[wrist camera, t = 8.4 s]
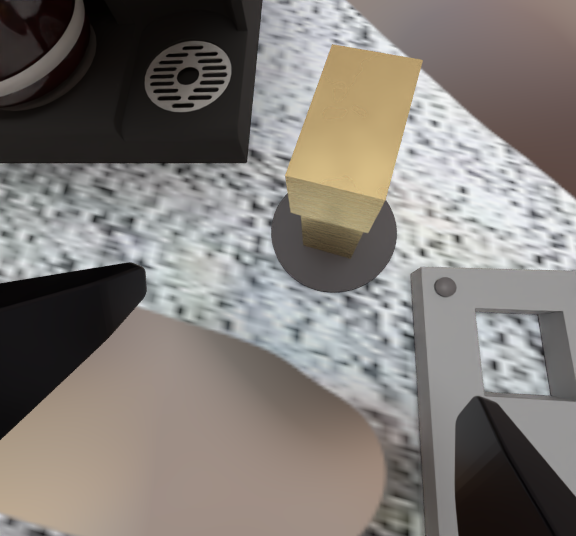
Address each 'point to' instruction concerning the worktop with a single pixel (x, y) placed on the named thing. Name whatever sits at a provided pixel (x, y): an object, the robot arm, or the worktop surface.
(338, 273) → the rubber mat
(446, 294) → the slot plate
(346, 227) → the t key
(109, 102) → the coffee maker
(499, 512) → the robot arm
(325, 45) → the worktop surface
